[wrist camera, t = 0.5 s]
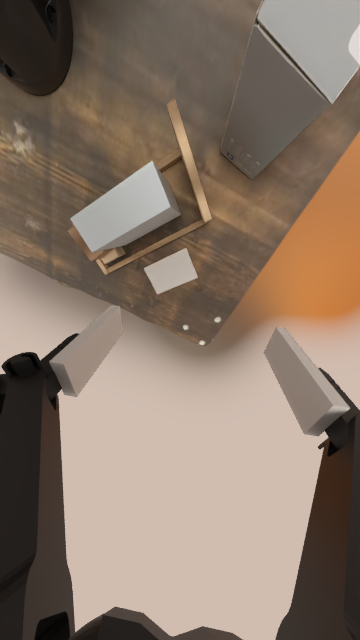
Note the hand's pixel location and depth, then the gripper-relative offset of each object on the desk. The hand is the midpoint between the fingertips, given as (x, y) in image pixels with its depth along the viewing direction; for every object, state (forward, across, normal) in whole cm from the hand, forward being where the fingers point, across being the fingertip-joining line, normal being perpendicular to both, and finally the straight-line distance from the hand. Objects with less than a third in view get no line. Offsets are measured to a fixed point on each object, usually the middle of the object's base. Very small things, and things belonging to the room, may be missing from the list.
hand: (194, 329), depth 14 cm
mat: (+27, -6, -3) cm, 27 cm away
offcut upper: (+23, -21, +3) cm, 32 cm away
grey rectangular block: (+27, -12, +8) cm, 31 cm away
